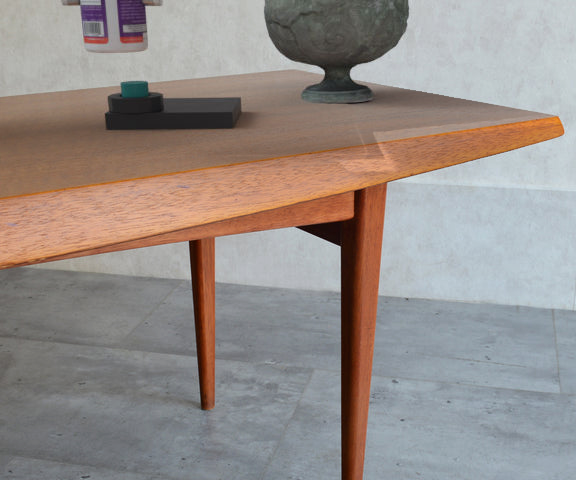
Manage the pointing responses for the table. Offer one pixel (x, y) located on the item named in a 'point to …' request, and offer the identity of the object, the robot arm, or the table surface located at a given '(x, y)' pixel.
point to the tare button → (134, 89)
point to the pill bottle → (114, 26)
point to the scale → (171, 112)
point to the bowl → (335, 39)
